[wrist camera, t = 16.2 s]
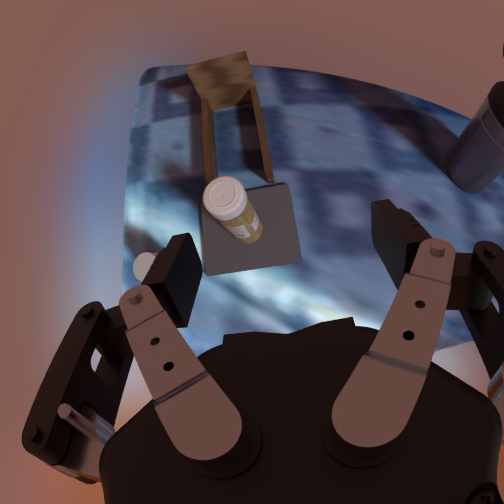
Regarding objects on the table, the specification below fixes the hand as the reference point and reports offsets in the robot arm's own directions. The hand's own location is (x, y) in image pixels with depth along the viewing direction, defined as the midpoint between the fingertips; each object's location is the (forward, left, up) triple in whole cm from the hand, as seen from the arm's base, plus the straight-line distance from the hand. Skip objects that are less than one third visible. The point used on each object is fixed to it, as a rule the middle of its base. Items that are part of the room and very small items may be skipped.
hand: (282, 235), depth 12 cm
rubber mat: (+6, -10, -29) cm, 31 cm away
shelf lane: (+6, -26, -29) cm, 39 cm away
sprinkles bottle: (+6, -9, -28) cm, 30 cm away
